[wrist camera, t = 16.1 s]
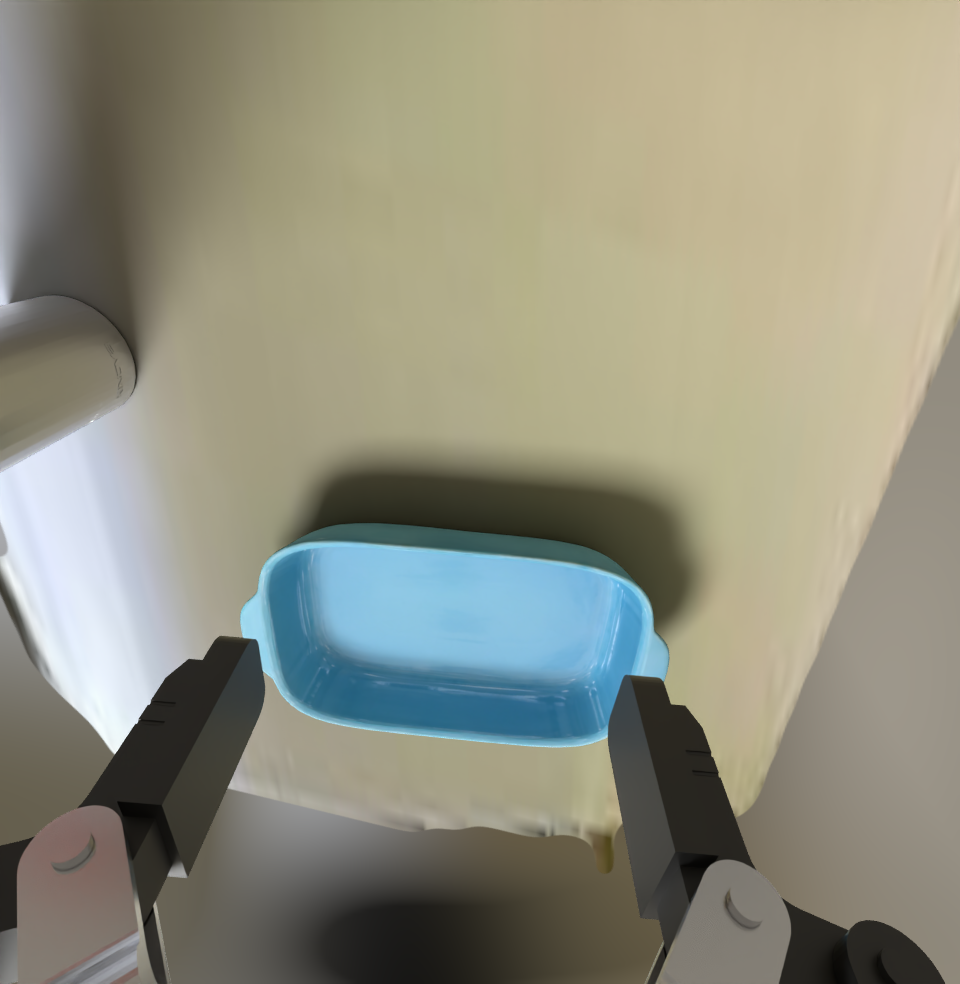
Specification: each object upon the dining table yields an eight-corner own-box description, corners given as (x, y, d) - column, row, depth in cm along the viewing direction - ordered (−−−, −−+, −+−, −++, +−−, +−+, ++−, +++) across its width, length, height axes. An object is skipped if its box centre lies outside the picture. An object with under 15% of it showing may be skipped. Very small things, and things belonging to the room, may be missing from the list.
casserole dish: (284, 669, 59) (256, 726, 53) (253, 488, 48) (214, 533, 42) (627, 699, 58) (641, 761, 52) (676, 521, 47) (700, 572, 41)
